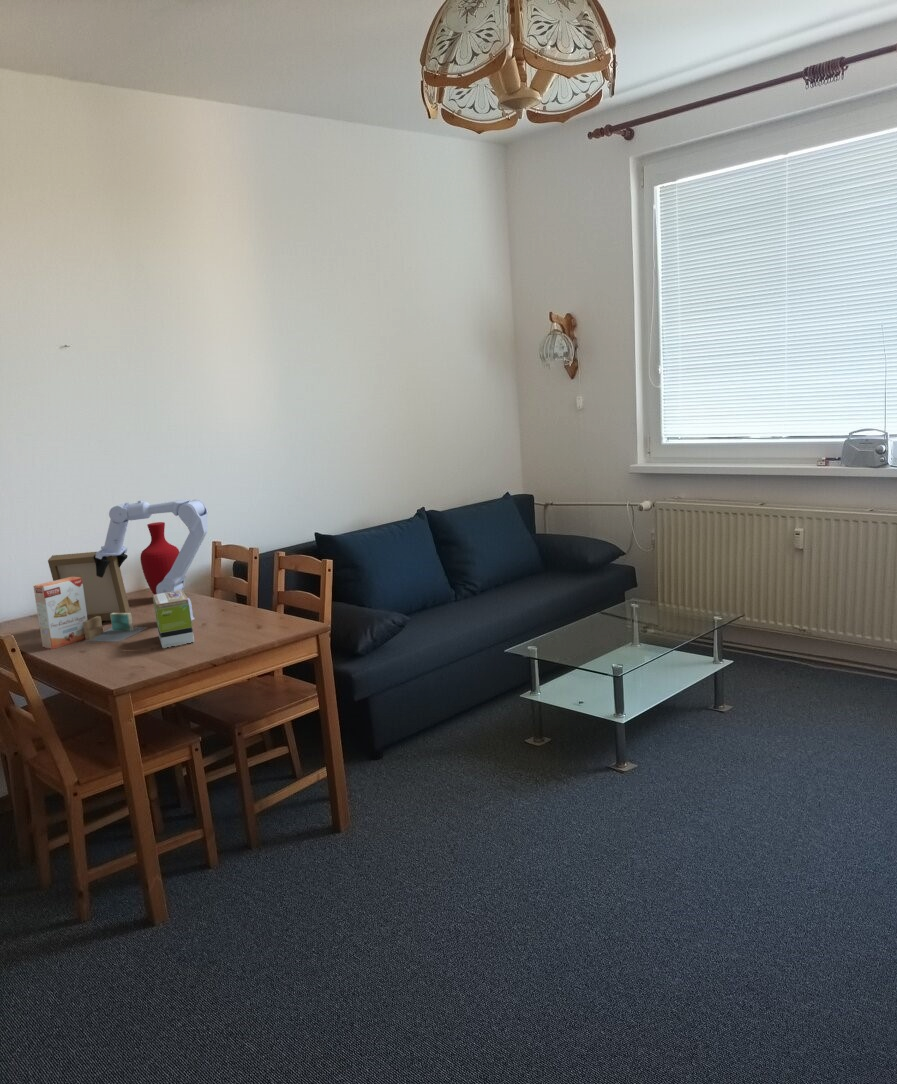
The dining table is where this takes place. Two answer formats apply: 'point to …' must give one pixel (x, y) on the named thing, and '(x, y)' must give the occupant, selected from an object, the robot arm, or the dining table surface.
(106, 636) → the felt mat
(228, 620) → the dining table surface
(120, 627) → the tile teal
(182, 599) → the tea box
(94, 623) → the tile plain
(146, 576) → the vase
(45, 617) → the cracker box
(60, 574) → the photo frame
